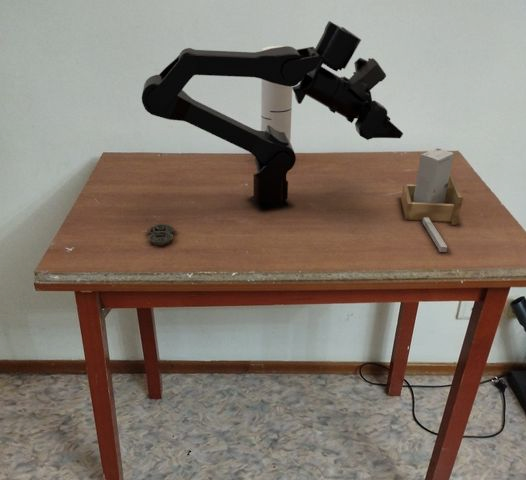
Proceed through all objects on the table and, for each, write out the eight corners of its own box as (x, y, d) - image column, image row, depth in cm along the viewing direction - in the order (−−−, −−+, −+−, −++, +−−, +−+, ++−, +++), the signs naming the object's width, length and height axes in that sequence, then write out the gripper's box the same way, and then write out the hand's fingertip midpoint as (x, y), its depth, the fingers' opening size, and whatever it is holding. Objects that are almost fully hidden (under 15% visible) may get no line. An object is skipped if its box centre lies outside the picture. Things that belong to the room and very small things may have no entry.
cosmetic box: (427, 218, 122) (438, 160, 115) (409, 211, 125) (419, 154, 117) (444, 209, 126) (456, 152, 118) (426, 202, 128) (436, 147, 121)
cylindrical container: (286, 166, 144) (291, 54, 128) (258, 164, 145) (258, 52, 129) (291, 156, 149) (296, 47, 134) (264, 153, 150) (265, 45, 135)
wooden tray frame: (406, 222, 120) (410, 194, 117) (400, 196, 131) (404, 169, 127) (456, 225, 120) (463, 197, 116) (447, 198, 130) (452, 172, 126)
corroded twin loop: (147, 247, 111) (147, 242, 110) (148, 228, 117) (147, 223, 116) (174, 246, 111) (174, 241, 111) (174, 227, 118) (173, 222, 117)
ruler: (446, 251, 111) (447, 247, 110) (440, 252, 111) (441, 247, 110) (427, 221, 120) (428, 217, 120) (422, 221, 120) (423, 217, 120)
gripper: (366, 62, 103) (435, 104, 109) (344, 40, 117) (405, 78, 123) (332, 120, 109) (399, 158, 114) (315, 92, 123) (375, 127, 129)
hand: (395, 128), depth 120 cm, fingers open, 9 cm apart
